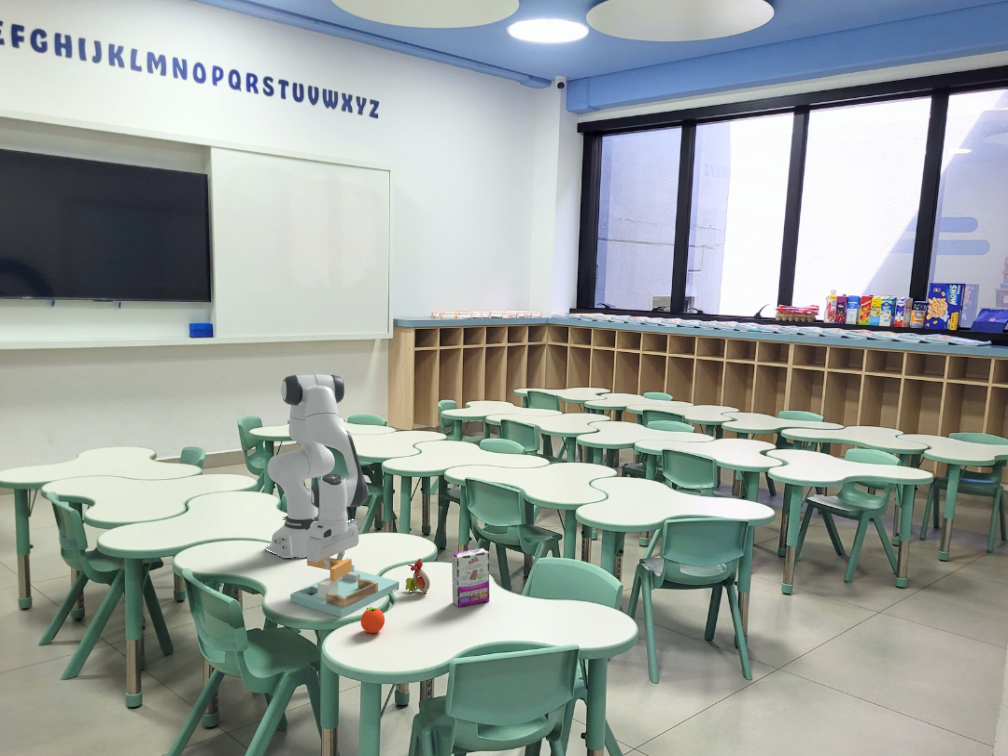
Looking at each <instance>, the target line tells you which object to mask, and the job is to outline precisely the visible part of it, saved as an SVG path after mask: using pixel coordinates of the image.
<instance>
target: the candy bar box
mask: <svg viewBox="0 0 1008 756" xmlns="http://www.w3.org/2000/svg"><path fill="white" fill-rule="evenodd" d="M451 574H452V576H451V578H452V579H451V582H452V584H451V585H452V587H451V588H452V591H451V592H452V603H453V604H454V605H455V606H456V607H458V608H463V607H464V608H465V607H468V606H474V605H477V604H482V603H487V602H490V552H489V551H488V550H486V549H485V548H484V547H481V548H475V549H469V550H464V551H459V552H453V553H451Z"/></svg>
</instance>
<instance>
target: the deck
mask: <svg viewBox="0 0 1008 756" xmlns="http://www.w3.org/2000/svg"><path fill="white" fill-rule="evenodd" d="M354 572H356V573H359V574H360V578H362V579H366V580H370V581H374V582H377V583H378V592H377V593H375V594H372V595H370V596H368V597H366V598H364V599H362V600H360V601H358V602H356V603H354V604H352V605H350V606H348V607H346V608H342V607H338V606H335V605H332V604H328V603H326V599H325V598H320V597H318V583H319V582H321V581H323V580H324V579H322V580H319V581H317V582H315V583H312V584H310V585H308V586H306V587H304V588H302V589H299V590H296V591H294V592H292V593H290V595H289V597H290V598H289V600H290V601H292V602H291V603H293V602H295V603H294V604H297V603H298V604H297V605H299V606H304V607H307V608H309V607H310V609H312V610H317V611H320V612H322V613H325V614H329V615H332V616H335V617H338V618H341V617H342V618H343V616H344V617H346V616H347V615H350V614H352V613H354V612H356V611H358V610H359V609H361V608H363V607H366V606H367V605H369V604H372V603H374V602H376V601H377V600H379V599H381V598H384V597H386V596H388V595H390V594H392V593H393V592H392V591H393V590H395V589H397V588H399V589H400V581H398V580H395V579H392V578H388V577H383V576H381V575H376V574H372V573H368V572H364V571H361V570H357V569H354ZM326 578H327V579H330V576H329V577H326ZM359 590H361V589H360V588H358V581H357V582H353V581H350V580H346V579H342V577H341V578H339V579H338V595H340V596H343V597H346V596H348V595H350V594H352V593H354V592H356V591H359ZM391 592H392V593H391Z"/></svg>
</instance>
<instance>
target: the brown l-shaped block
mask: <svg viewBox="0 0 1008 756" xmlns="http://www.w3.org/2000/svg"><path fill="white" fill-rule="evenodd" d="M358 588H360V589H361V590H359V591H356V592H354V593H352V594H350V595H348V596H346V597H343V596H340V595H337V594H333V593H330V592H328V593H326V603H328V604H332V605H335V606H338V607H342V608H346V607H348V606H350V605H352V604H354V603H356V602H358V601H360V600H362V599H364V598H366V597H368V596H370V595H372V594H375V593H377V592H378V583H377V582H374V581H370V580H366V579H362V578H359V579H358Z"/></svg>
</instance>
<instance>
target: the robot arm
mask: <svg viewBox="0 0 1008 756" xmlns="http://www.w3.org/2000/svg"><path fill="white" fill-rule="evenodd" d="M345 392H346V386H345V382H344V380H343V379H342V377H341V376H340V375H336V374H329V375H328V374H323V373H321V374H320V373H312V374H301V375H296V374H294V375H293V374H292V375H289V376H286V377H285V378H284V379H283V380H282V383H281V388H280V394H281V397H282V401H283V402H285V403H286V404H287V405H290V409H289V411H290V412H289V422H288V424H289V425H288V435H289V437H290V438H291V440H292V441H294V442H296V443H298V444H300V449H299V450H294V451H293V450H292V451H288V452H287V451H286V452H282V453H279V454H276V455H274V456H271V458H270V459H269V461H268V463H267V475H268V476H269V478H270V479H271V480H272V481H273V482H274V483H277V484H278V485H279V486H280V487H281V489H282V491H283V492H284V495H285V498H286V507H287V508H286V510H287V511H286V512H287V515H286V516H283V517H282V521H284V524H283V525H282V526H281V527H280V528H279V529H277V530H276V531H275V532H274V533H272V536H271V543H270V544H269V545H270V546H268V545H267V546H265V548H266V549H268V550H270V551H272V552H274V553H276V554H277V555H279V556H281V557H283V558H292V559H294V558H293V557H296V558H295V559H305V557H307V558H306V560H307V559H308V560H309V561H312V562H318V561H320V560H323V561H324V563H325V568H326V569H325V570H327V569H328V570H327V571H330V570H329V569H330V568H332V563H330V561H329V560H330V558H331V557H333V556H335V555H337V556H336V559H339V560H343V558H344V556H345V554H346V553H345V552H346V551H348V550H349V549H352V548H355V547H357V546H358V544H359V543H360V538H359V529H358V522H357V520H356V519H354V518H350V519H348V518H349V517H348V511H347V508H348V507H349V508H360V507H362V506H363V505H364V503H366V501H367V500H368V499H369V488H368V485H367V482H366V480H365V479H366V478H365V477H364V474H363V470H362V467H361V464H360V461H359V456H358V453H357V449H356V446H355V442H354V440H353V437H352V435H351V433H350V432H349V430H346V429H345V427H343V425H342V423H341V421H340V416H339V410H338V409H339V408H338V404H339V403H341V401H342V400H343V399H344V396H345ZM326 446H327V447H329V448H333V449H335V450H337V451H338V452H340V453H341V454H342V455H343V458H344V462H345V466H346V469H347V472H348V476H347V477H345V476H344V475H342V474H339V473H332V471H333V469H334V468H335V457H334V454H333V452H332V451H331V450H330V449H329V448H327V447H326ZM314 478H320V479H318V480H316V481H315V482H314V483H313V484H312V486H310V487H311V488H309V487H306V486H305V480H309V479H314ZM319 510H320V513H319ZM277 555H276V556H277ZM279 556H278V557H279ZM281 557H280V558H281ZM297 557H298V558H297ZM283 558H282V559H283Z"/></svg>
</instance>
